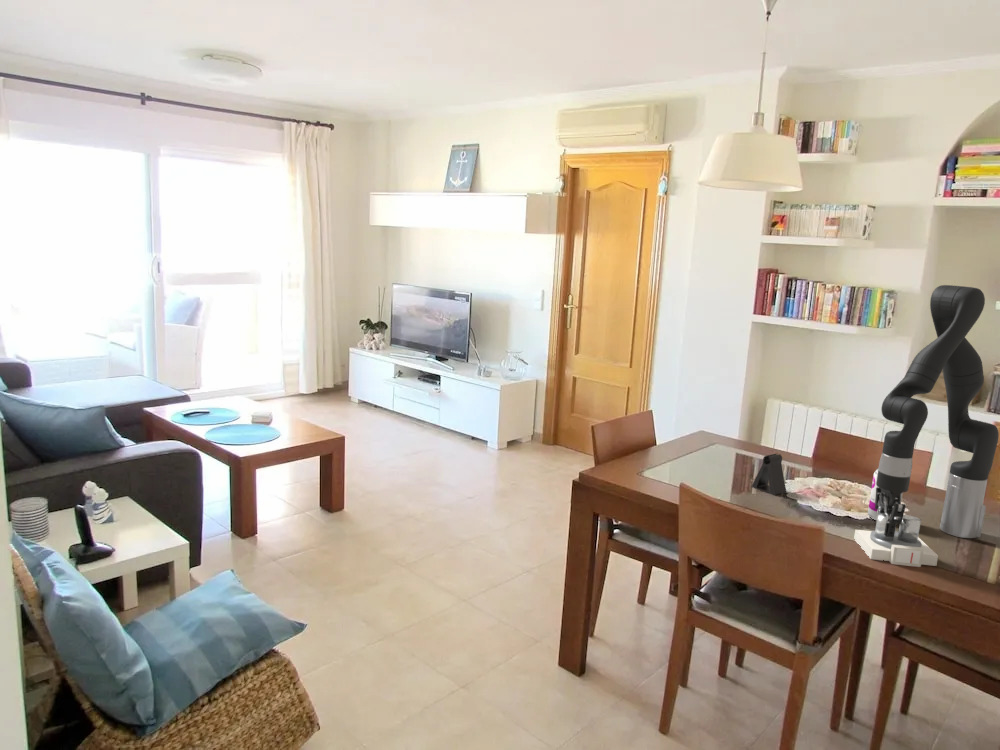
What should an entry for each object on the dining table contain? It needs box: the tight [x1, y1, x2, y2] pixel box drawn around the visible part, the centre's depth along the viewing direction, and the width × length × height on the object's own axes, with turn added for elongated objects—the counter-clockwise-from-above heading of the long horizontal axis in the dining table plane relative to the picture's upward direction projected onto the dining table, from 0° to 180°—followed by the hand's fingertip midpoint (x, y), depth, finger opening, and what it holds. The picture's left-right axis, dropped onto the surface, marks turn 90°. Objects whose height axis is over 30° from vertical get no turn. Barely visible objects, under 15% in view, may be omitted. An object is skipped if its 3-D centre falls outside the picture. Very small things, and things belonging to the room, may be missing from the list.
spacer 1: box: [874, 513, 897, 541], centre depth 193 cm, size 5×5×6 cm
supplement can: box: [867, 467, 904, 521], centre depth 216 cm, size 8×8×15 cm
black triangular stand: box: [751, 453, 787, 496], centre depth 237 cm, size 9×6×12 cm, turn 34°
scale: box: [853, 529, 939, 568], centre depth 192 cm, size 16×15×5 cm
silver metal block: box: [897, 514, 922, 543], centre depth 192 cm, size 5×5×6 cm
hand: (884, 531), depth 193 cm, fingers open, 5 cm apart
